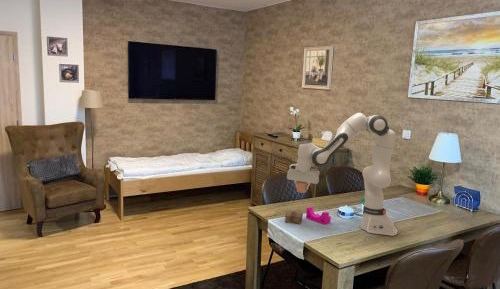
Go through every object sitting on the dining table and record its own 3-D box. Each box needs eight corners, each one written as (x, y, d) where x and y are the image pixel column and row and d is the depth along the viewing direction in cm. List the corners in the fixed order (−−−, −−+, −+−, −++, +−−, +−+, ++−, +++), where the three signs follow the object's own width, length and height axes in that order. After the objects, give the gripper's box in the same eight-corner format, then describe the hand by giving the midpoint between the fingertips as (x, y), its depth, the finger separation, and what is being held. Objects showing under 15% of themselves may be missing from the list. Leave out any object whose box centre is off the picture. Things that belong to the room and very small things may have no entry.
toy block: (330, 222, 247) (331, 211, 246) (324, 224, 243) (325, 213, 242) (311, 216, 258) (312, 206, 257) (306, 218, 253) (306, 207, 252)
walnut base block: (302, 219, 251) (302, 212, 250) (300, 224, 241) (301, 217, 240) (287, 218, 253) (287, 210, 252) (284, 222, 243) (285, 215, 243)
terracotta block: (306, 191, 244) (307, 182, 243) (304, 193, 239) (305, 183, 238) (298, 190, 246) (299, 181, 245) (296, 191, 241) (297, 182, 240)
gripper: (321, 168, 239) (319, 190, 241) (290, 164, 247) (288, 184, 249) (318, 170, 233) (316, 192, 235) (287, 165, 241) (285, 186, 243)
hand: (301, 188), depth 242 cm, fingers closed on terracotta block, 5 cm apart
